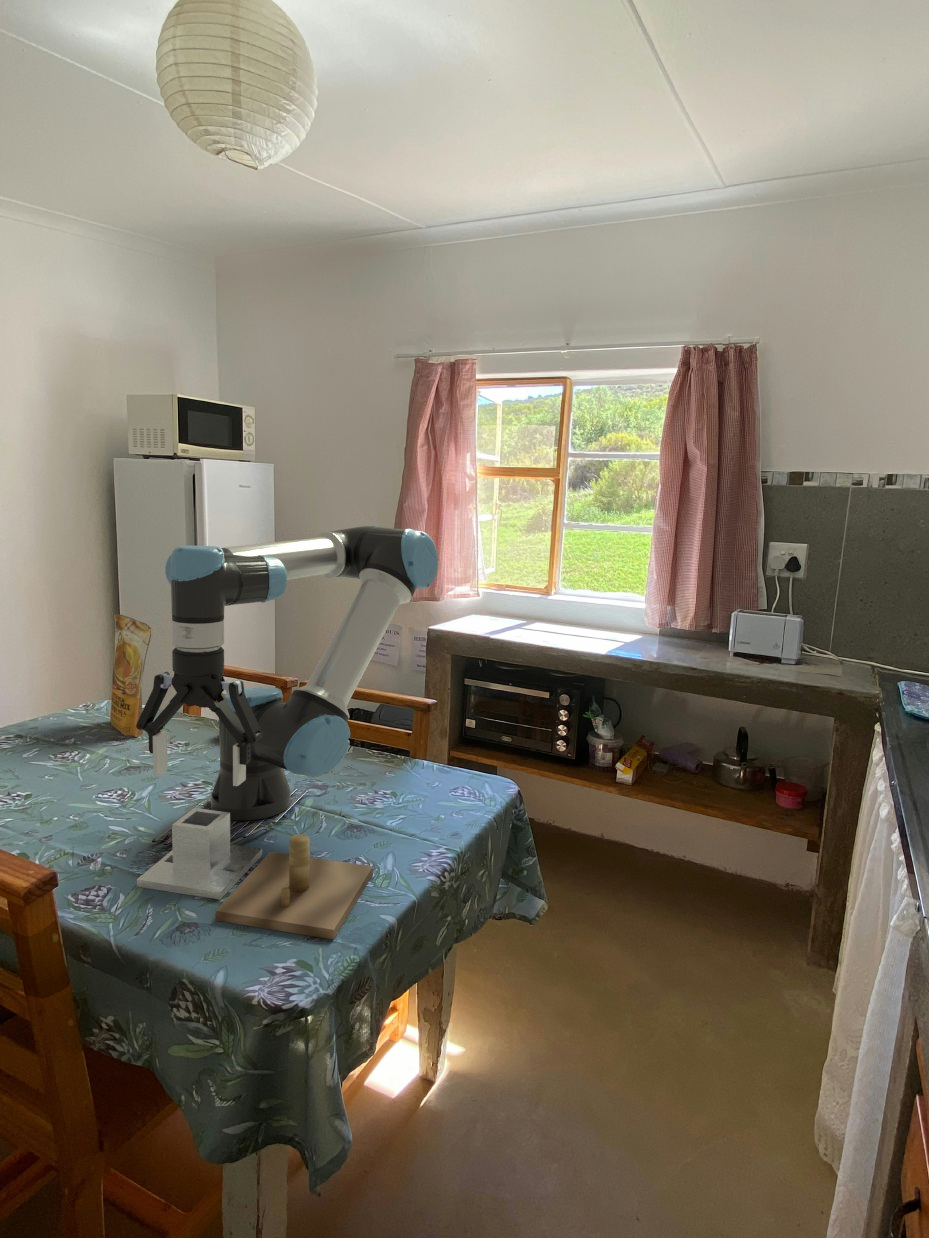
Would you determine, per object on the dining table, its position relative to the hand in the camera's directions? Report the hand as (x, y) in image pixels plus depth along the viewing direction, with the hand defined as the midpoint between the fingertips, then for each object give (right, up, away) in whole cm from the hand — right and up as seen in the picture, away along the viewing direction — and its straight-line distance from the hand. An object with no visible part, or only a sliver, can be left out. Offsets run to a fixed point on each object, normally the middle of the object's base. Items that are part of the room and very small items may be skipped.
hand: (199, 777), depth 115 cm
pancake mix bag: (-42, -2, +67) cm, 80 cm away
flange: (-1, -16, +3) cm, 16 cm away
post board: (+16, -18, -3) cm, 24 cm away
